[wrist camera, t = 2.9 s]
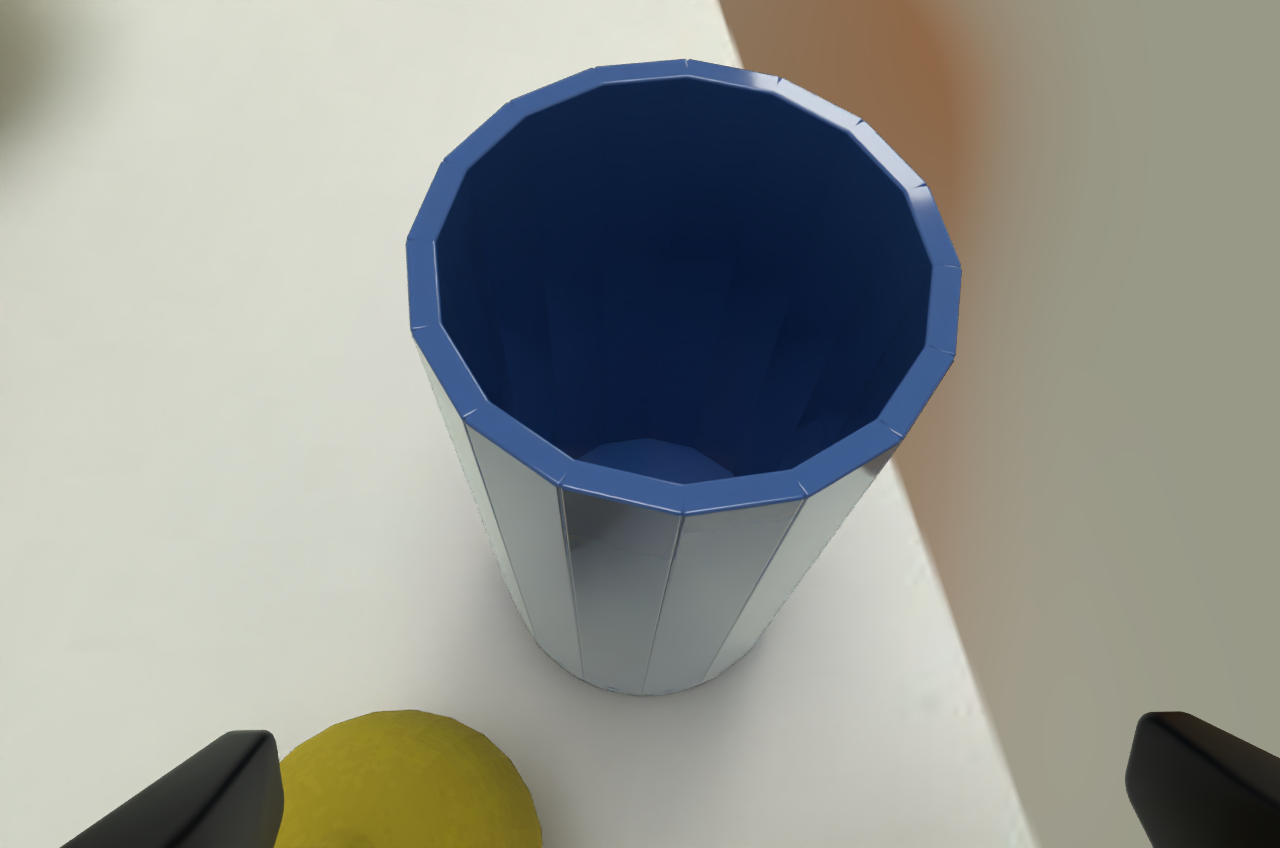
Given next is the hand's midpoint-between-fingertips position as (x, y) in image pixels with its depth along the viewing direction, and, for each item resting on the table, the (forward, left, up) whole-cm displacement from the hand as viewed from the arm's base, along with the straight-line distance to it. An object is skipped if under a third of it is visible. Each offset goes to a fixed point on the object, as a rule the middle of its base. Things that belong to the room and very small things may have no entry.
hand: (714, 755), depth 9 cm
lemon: (0, +5, -13) cm, 14 cm away
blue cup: (+6, -1, -12) cm, 14 cm away
